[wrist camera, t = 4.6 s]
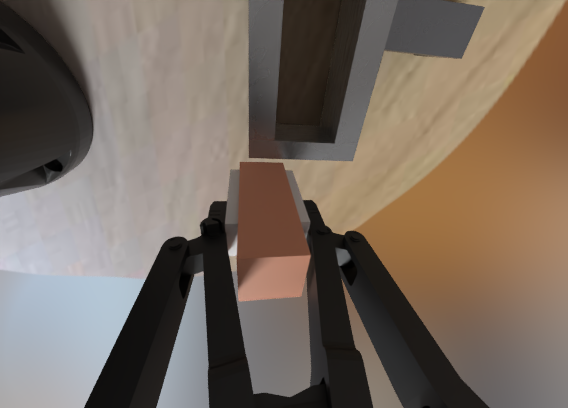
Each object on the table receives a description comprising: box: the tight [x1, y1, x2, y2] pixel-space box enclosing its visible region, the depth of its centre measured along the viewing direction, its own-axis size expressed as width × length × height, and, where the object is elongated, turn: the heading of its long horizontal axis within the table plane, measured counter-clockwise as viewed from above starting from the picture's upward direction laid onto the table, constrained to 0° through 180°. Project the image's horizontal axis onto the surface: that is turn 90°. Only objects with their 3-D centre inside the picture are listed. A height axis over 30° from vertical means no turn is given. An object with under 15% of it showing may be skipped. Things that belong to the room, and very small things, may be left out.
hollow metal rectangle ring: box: [249, 0, 485, 161], centre depth 16 cm, size 16×19×5 cm
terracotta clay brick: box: [237, 162, 311, 301], centre depth 16 cm, size 4×4×10 cm
